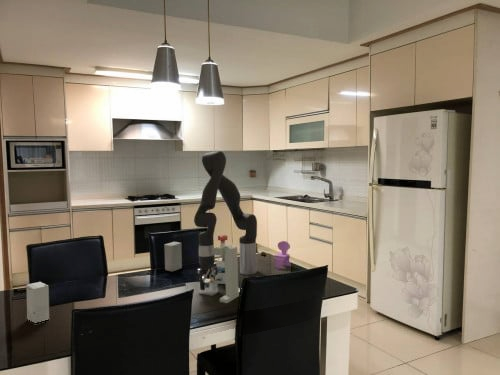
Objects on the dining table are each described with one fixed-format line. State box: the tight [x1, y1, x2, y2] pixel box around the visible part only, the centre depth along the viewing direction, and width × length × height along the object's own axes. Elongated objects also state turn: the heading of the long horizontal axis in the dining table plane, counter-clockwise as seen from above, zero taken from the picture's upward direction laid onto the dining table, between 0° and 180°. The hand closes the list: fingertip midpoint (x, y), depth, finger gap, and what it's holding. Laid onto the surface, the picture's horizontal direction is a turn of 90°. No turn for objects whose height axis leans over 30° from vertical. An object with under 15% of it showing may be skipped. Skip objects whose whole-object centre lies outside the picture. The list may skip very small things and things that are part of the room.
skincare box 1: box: [26, 281, 50, 323], centre depth 160 cm, size 8×6×15 cm
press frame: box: [214, 244, 241, 304], centre depth 182 cm, size 16×9×23 cm, turn 151°
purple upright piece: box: [274, 240, 292, 270], centre depth 230 cm, size 8×9×15 cm
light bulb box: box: [215, 267, 226, 285], centre depth 206 cm, size 11×7×11 cm, turn 169°
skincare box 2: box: [163, 241, 183, 273], centre depth 232 cm, size 8×7×16 cm
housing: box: [197, 276, 219, 296], centre depth 189 cm, size 5×8×8 cm, turn 60°
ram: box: [215, 234, 228, 268], centre depth 183 cm, size 5×5×14 cm
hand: (207, 287), depth 188 cm, fingers open, 8 cm apart
